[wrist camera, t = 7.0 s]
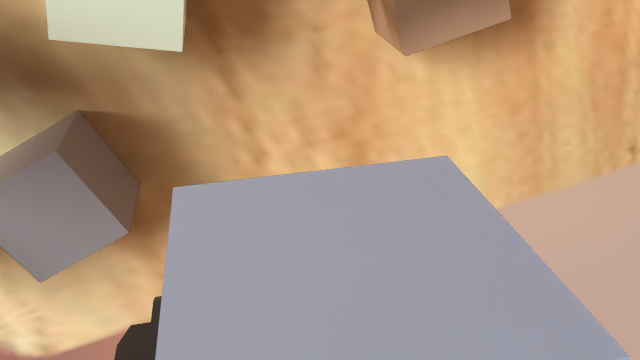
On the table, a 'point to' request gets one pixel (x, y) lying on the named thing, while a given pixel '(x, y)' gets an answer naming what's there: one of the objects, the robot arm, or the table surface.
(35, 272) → the charcoal block
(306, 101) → the table surface
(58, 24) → the sage block
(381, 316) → the slate blue block
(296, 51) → the table surface
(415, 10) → the walnut block
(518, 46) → the table surface
